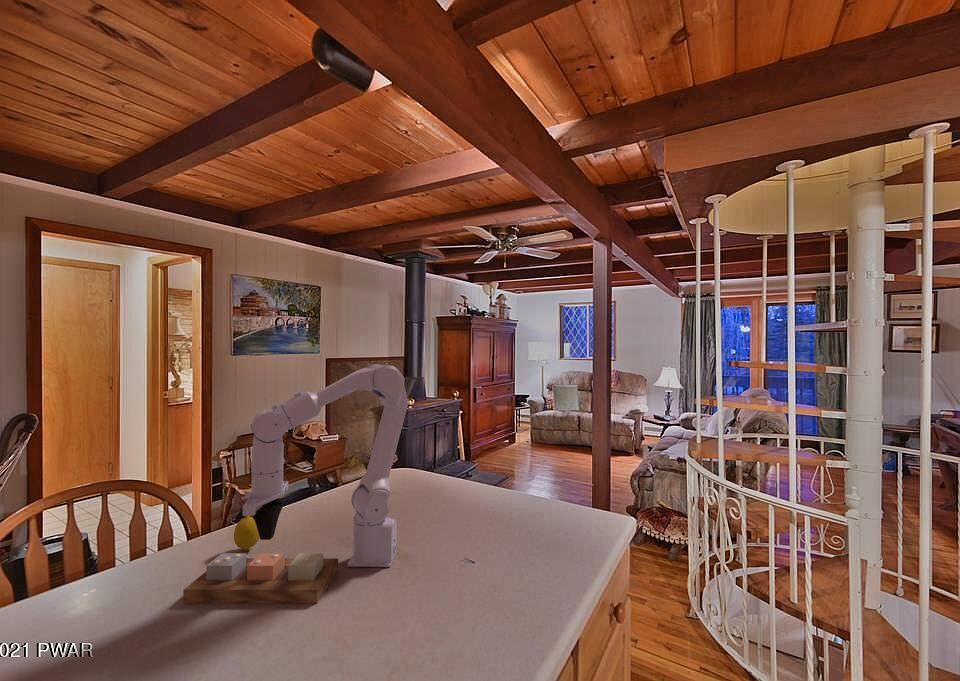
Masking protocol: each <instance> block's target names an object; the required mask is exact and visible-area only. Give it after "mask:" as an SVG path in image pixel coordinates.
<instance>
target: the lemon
mask: <svg viewBox="0 0 960 681" xmlns="http://www.w3.org/2000/svg"><path fill="white" fill-rule="evenodd" d="M233 540H234V544H235V545H236V547H238V548H240V549H243V550H244V551H249V550H250V549H251V548H253V547H254V546H255V545H256V544H257V543H258V541H259V540H260V537H259V533H258V530H257V526H256V523H255V521H254V519H253V517H252V516H244V517H243V518H242V519H240V521H238V522H237V523H236V525H235V528H234V532H233Z"/></svg>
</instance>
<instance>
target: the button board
mask: <svg viewBox="0 0 960 681" xmlns="http://www.w3.org/2000/svg"><path fill="white" fill-rule="evenodd" d="M255 558H256V557H251V558H249V557H248V558H247V557H246V568H245V569H244V570H243V571H242V572H241V573H240V574H239V575H238V576H237V577H236V578H235V579H233V580H206V571H205V572H203V573H202V574H201V575H200V576H199V577H197V578H196V579H194V580H193V581H192V582H191V583H189V585H187V586H186V587H185V588H184V589H182V590H183V596H182V597H183V598H182V602H183V604H318V603H319V601H320V599H321V598H322V597H323V595H324V593H325V592H326V590H327V588H328V587H329V586H330V584H331V582H332V580H333V579H334V578H335V576H336V575H337V573H338V571H339V558H335V557H334V558H330V557H329V558H328V557H327V558H325V557H323V570H322V571H321V572H320V574H319V575H318V577H317V578H316V580H315V581H288V566H289V564H290V563H291V562H292V561H293V560H294V559H295V558H296V557H295V558H293V557H291V558H290V557H286V558H285V568H284V569H283V571H282V572H281V573H280V574H279V575H278V576H277V577H276V578H275V580H274V581H260V580H247V566H248V565H249V564H250V563H251V562H252V561H253V560H254V559H255Z"/></svg>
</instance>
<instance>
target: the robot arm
mask: <svg viewBox="0 0 960 681" xmlns="http://www.w3.org/2000/svg"><path fill="white" fill-rule="evenodd" d="M356 391H366V392H367V391H370V392H372V393H374V394H375V395H376V396H377V397H378V399H379V401H380V402H381V404H382V406H383V410H382V413H381V416H380V417H381V418H380V422H379V425H378V428H377V432H376V436H375V439H374V443H373V447H372V450H371V453H370V458H369V461H368V465H367V468H366V472H365V474H364V475H362V477H361V478H360V480H359V483H358V486H357V487H356V488H355V490H354V491H353V493H352V495H351V499H350V502H351V505H352V507H353V509H354V510H355V515H354V516H353V539H352V540H353V541H352V542H353V545H352V546H353V548H352V551H353V554H352V556H351V558H349V561H348V563H347V565H346V566H347V567H349V568H350V567H351V568H352V567H353V568H360V567H361V568H365V567H366V568H369V567H370V568H374V567H375V568H383V567H384V568H388V567H391V566H392V563H393V561H394V558H395V556H396V555H397V554H396V553H397V551H398V547H397V543H398V542H397V540H398V539H397V535H398V534H397V529H398V528H397V526H398V525H397V524H398V523H397V520H396V519H395V518H391V517H388V515H389V513H390V509H391V505H390V494H391V486H390V482H389V479H390V474H391V470H392V467H393V463H394V459H395V456H396V451H397V448H398V444H399V440H400V436H401V432H402V429H403V425H404V422H405V417H406V415H407V410H408V406H409V400H408V396H407V395H408V394H407V392H406V387H405V377H404V376H403V374H402V372H401V371H400V370H399V369H398V368H397V367H395V366H393V365H389V364H388V365H387V364H385V365H384V364H380V363H379V364H378V363H373V364H370V365H369V366H368V367H362V368H360V369H357V370H356V371H354V372H352V373H350V374H348V375H346V376H345V377H342V378H341V379H339V380H337V381H334V383H331V384H330V385H328V386H326V387H325V388H322V389H321V390H319V391H316V392H311V391H304V392H301V391H300V390H299V391H297V392H295V393H293V395H294V396H293V397H292V398H289V399H287V400H285V401H283V402H281V403H279V404H277V403H274V404H271V407H270V408H272V409H265V410H264V409H263V410H261V411H259V412H258V413H257V414H255V415H254V417H253V419H252V421H251V423H250V429H251V432H252V433H253V434H254V435H253V439H252V446H253V447H252V448H251V490H249V491H247V492H246V493H245V497H246V498H248V499H247V501H246V502H245V503H244V504H242V516H243V517H246V516H250V517H253V519H254V521H255V523H256V526H257V530H258V533H259V540H261V541H265V540H266V541H267V540H268V541H269V540H272V539H273V538H274V535H275V532H276V528H277V523H278V521H279V517H280V515H281V511H282V510H283V507H284V506H285V504H286V498H283V497H284V495H285V493H286V492H287V491H288V490H289V481H288V480H287V481H285V480H284V446H283V443H284V442H283V440H284V439H283V436H285V434H286V431H287V430H288V431H289V430H292V429H294V428H296V427H298V426H300V425H302V424H304V423H306V422H308V421H309V420H312V419H313V418H315V417H317V416H319V415H320V413H321V411H322V408H323V407H324V406H326V405H328V404H330V403H333V402H335V401H337V400H338V399H341V398H342V397H346V396H347V395H349V394H351V393H352V394H353V392H356Z"/></svg>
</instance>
